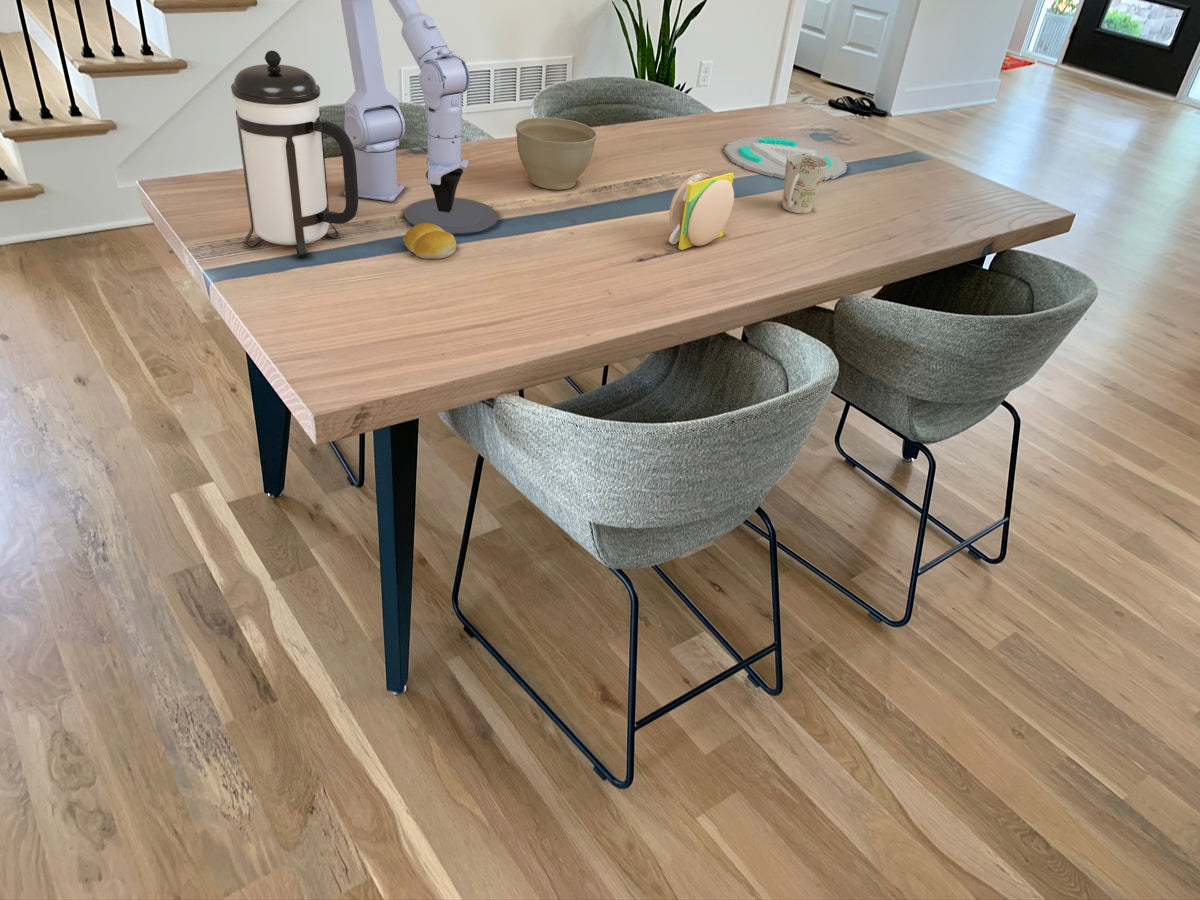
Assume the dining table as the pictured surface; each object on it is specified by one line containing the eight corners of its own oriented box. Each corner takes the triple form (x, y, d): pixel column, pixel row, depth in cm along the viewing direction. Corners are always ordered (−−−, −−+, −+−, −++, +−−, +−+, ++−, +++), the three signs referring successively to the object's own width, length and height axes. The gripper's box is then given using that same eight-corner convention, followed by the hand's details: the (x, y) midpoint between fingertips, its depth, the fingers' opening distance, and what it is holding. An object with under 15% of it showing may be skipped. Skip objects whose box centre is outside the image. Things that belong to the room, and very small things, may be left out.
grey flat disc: (760, 133, 228) (761, 126, 227) (862, 162, 216) (864, 156, 215) (704, 156, 209) (705, 149, 208) (813, 189, 197) (815, 182, 196)
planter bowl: (576, 202, 177) (580, 147, 171) (501, 186, 181) (502, 131, 174) (602, 179, 190) (607, 126, 184) (531, 163, 193) (534, 112, 187)
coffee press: (251, 266, 142) (223, 65, 124) (241, 226, 153) (213, 38, 136) (362, 257, 148) (350, 65, 131) (344, 219, 160) (331, 39, 142)
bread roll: (426, 265, 148) (425, 242, 146) (396, 245, 153) (395, 223, 151) (467, 254, 153) (467, 231, 151) (437, 235, 158) (437, 213, 156)
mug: (820, 207, 189) (832, 159, 183) (805, 225, 179) (817, 176, 173) (782, 197, 191) (793, 150, 185) (766, 215, 182) (776, 166, 176)
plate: (392, 228, 159) (392, 225, 159) (419, 195, 173) (419, 192, 172) (487, 241, 158) (487, 238, 158) (506, 206, 172) (506, 204, 172)
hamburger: (698, 225, 174) (708, 163, 167) (732, 240, 169) (743, 177, 162) (657, 238, 167) (665, 174, 160) (690, 254, 162) (701, 189, 155)
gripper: (457, 149, 146) (456, 229, 154) (477, 124, 158) (476, 199, 166) (414, 143, 146) (416, 223, 154) (438, 119, 158) (438, 194, 166)
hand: (444, 210), depth 160 cm, fingers closed
